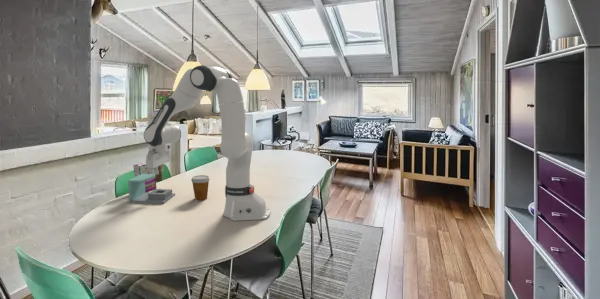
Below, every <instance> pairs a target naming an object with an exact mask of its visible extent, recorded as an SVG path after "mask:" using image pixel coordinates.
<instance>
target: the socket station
mask: <svg viewBox="0 0 600 299" xmlns="http://www.w3.org/2000/svg"><path fill="white" fill-rule="evenodd" d="M153 177H155V174H141V175H139V176H136V177H132V178H130V179H128V180H127V183H128V184H127V185H128V196H129V203H130V204H162V205H163V204H166V203H167V202H168V201H170V200H172V198H174V197H175V196H176V193H173V189H167V188H166V189H164V188H156V189H154V190H151V191H149V192H146V193H145V182H146V181H148V180H150V179H152V178H153Z"/></svg>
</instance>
